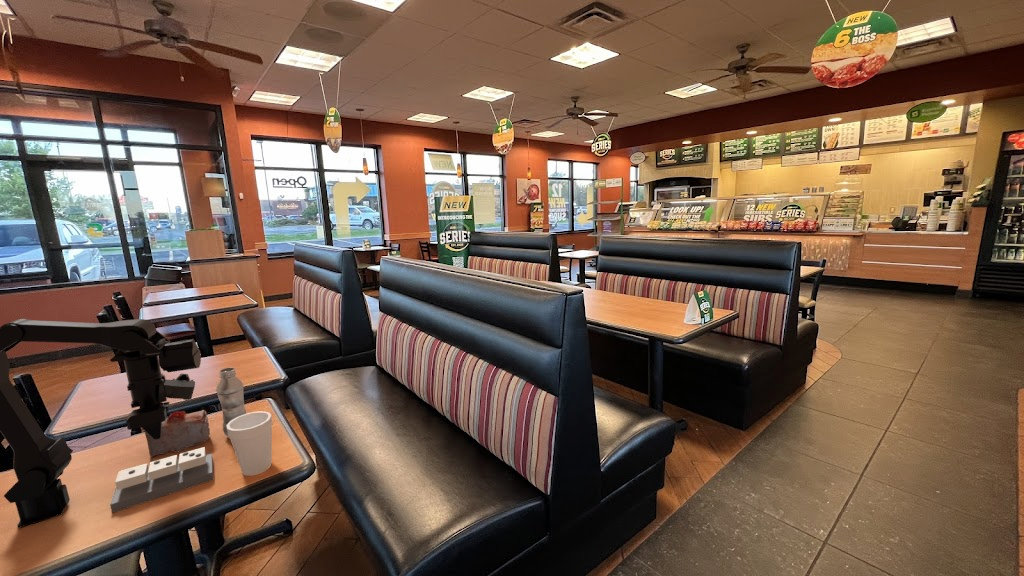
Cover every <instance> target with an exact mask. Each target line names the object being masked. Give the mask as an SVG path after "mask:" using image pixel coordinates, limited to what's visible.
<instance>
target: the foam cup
mask: <svg viewBox="0 0 1024 576" xmlns="http://www.w3.org/2000/svg"><path fill="white" fill-rule="evenodd" d="M273 423H274V422H273V417H272V414H271V413H270V412H268V411H264V410H263V411H261V410H260V411H252V412H246V414H244V415H241V416H238V417H236V418H235V419H233V420H231V421H230V422H229V423H228V424H227V425H226V426H227V432H228V436H229V437H228V439H230V443H231V444H232V447H233V451H234V453H235V456H236V459H237V462H238V465H239V467H240V469H241V473H242V475H244V476H247V477H250V476H252V477H253V476H256V475H260V474H262V473H264V472H266V471H267V470H268V469H269V468H271V465H272V458H273V457H272V453H273V452H272V450H273V449H272V446H273V445H272V444H273V443H272V441H273V436H272V435H273V433H272V432H273Z"/></svg>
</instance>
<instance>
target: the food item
mask: <svg viewBox="0 0 1024 576" xmlns="http://www.w3.org/2000/svg"><path fill="white" fill-rule="evenodd" d="M209 426H210V424H209V418H208V416H207V411H206V410H205V409H203V410H199V411H195V412H190V413H186V411H183V410H181V411H179V410H177V411H175V412H171V413H170V414H169V416H168V417H166V420H165V421H163V422H162V426H161V437H160V438H159V439H156V440H155V439H153V438H152V437H151V436H150V435H149V434H148V433H147V432H146V431H145V430H144V435H145V437H146V442H147V443H146V444H147V448H148V453H149V457H150V458H152V457H156V456H158V455H163V454H167V453H170V452H175V453H177V452H178V451H179V452H181V451H183V450H186V448H191V447H194V446H196V445H200V444H204V443H205V442H206V441H207V440H208V439H209V437H210V434H211V433H210V431H211V430H210V427H209Z"/></svg>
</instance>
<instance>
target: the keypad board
mask: <svg viewBox="0 0 1024 576" xmlns="http://www.w3.org/2000/svg"><path fill="white" fill-rule="evenodd" d="M211 481H214V458H213V453H208V454H206V464H203V465H199V466H196V467H193V468H189V469H186V470H183V471H180V469H179V464H178V470H177V472H176V473H173V474H170V475H166V476H163V477H160V478H156V479H153V480H150V481H149V476H148V478H147V481H146V482H143V483H140V484H136V485H133V486H130V487H127V488H123V489H120V490H117V488H116V487H115V489H114V492H113V495H112V498H111V501H110V504H109V505H110V509H111V513H112V514H114V513H116V512H119V511H123V510H125V509H128V508H130V507H131V508H132V507H134V506H137V505H140V504H143V503H146V502H149V501H153V500H155V499H158V498H161V497H165V496H168V495H171V494H174V493H178V492H181V491H183V490H186V489H190V488H193V487H196V486H199V485H201V484H202V485H203V484H205V483H209V482H211Z"/></svg>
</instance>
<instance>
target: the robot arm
mask: <svg viewBox="0 0 1024 576" xmlns="http://www.w3.org/2000/svg"><path fill="white" fill-rule="evenodd" d="M22 342H26V343H27V342H28V343H30V342H32V343H36V342H37V343H61V344H62V343H63V344H64V343H65V344H66V343H71V344H94V345H101V346H103V347H106V348H109V349H115V350H117V351H116V353H115V354H114V356H113V357H111V358H110V360H109V361H110V362H111V363H115V362H116V363H117V362H123V363H124V368H125V374H126V377H127V382H128V384H127V386H126V387H127V388H126V389H127V391H128V392H130V396H131V400H132V401H131V403H130V407H131V409H132V411H131V412H130V413H129V414H128V415H127V418H126V419H125V424H126V428H127V430H128V431H129V430H130V431H132V430H136V429H140V428H141V429H143V430H144V432H145V431H146V432H147V433H148V434H149V435H150V436H151V437H152V438H153V439H155V440H156V439H159V438H160V437H161V426H162V422H163V421H165V420H166V418H167V417H168V415H167V414H168V412H169V407H170V403H171V402H170V401H167V399H179V400H184V401H188V400H189V401H190V400H191V399H192V398H193V394H194V390H195V387H196V381H194V379H191V378H190V375H189V374H188V373H180V374H179V375H178V376H177V377H176V378H172V379H166V375H165V374H164V373H162V371H163V372H167V373H172V372H173V373H175V372H180V371H186V370H187V371H188V370H193V369H199V368H200V366H201V364H202V363H201V361H202V360H201V359H202V356H201V350H200V349H199V346H198V345H197V344H196V340H195V339H193V338H192V339H186V340H183V341H175V342H171V340H170V339H168V338H167V337H166V336H164V335H163V333H161V332H159V330H157V328H156V326H155V324H153V323H152V322H151V321H150V320H148V319H144V318H143V319H142V318H137V319H126V320H123V319H122V320H119V321H118V320H117V321H111V322H102V323H101V322H98V323H97V322H82V321H81V322H78V321H77V322H76V321H73V322H72V321H55V320H33V319H27V318H19V319H16V320H15V319H14V320H13V321H12V320H11V321H10V322H8V323H4V324H2V325H1V326H0V434H1V435H2V436H3V438H4V439H5V441H6V442H7V443H8V445H9V446H10V448H11V450H12V451H13V471H14V473H15V476H16V479H17V482H15V484H13V485H12V487H10V489H9V490H7V491H6V493H5V494H4V495H3V497H4V498H5V499H6V501H8V503H10V504H13V503H15V507H16V511H17V514H18V517H19V522H18V523H17V528H22V527H26V526H29V525H33V524H36V523H38V522H42V521H45V520H49V519H51V518H54V517H58V516H61V515H63V513H64V511H65V509H66V507H67V506H68V504H69V503H70V500H71V499H70V496H69V492H68V488H67V485H66V484H63V483H62V480H61V479H62V478H59V477H60V476H62V475H63V474H64V470H65V469H66V468H67V467H68V466H69V465H70V463H71V461H72V453H73V452H74V450H73V449H72V448H71V447H70V446H68V444H67V440H66V438H65V437H60V438H58V439H56V440H55V439H53V438H51V437H48V436H47V435H46V434H45V432H44V431H43V430H42V428H41V426H40V425H39V423H38V422H37V420H36V419H35V417H34V415H33V414H32V413H31V410H30V409H29V408H28V406H27V405H26V403H25V402H24V400H23V398H22V397H21V395H20V394H19V391H17V389H16V388H15V386H14V384H13V383H12V381H11V379H10V366H11V365H10V360H9V357H8V355H7V352H9V351H11V350H12V349H14V348H16V347H17V346H18V345H19V344H20V343H22ZM161 370H162V371H161ZM135 408H136V409H135Z"/></svg>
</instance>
